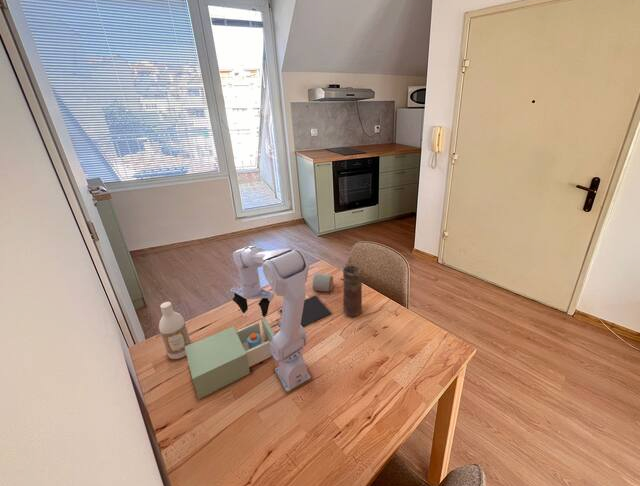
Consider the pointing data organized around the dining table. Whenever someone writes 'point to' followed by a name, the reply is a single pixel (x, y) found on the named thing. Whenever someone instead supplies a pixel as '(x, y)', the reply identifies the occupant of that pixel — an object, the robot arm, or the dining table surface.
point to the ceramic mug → (322, 282)
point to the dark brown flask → (352, 290)
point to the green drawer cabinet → (216, 361)
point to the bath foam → (173, 332)
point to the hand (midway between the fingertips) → (255, 312)
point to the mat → (312, 311)
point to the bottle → (253, 340)
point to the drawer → (263, 349)
